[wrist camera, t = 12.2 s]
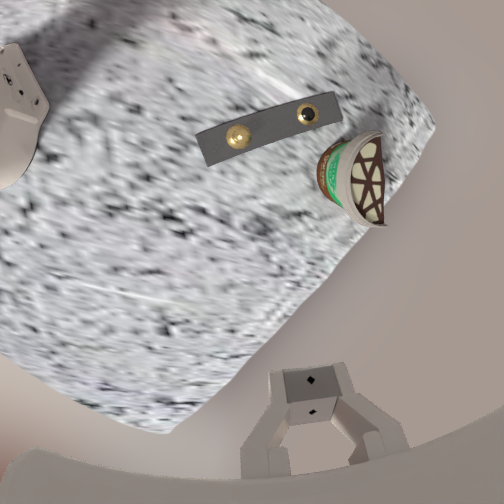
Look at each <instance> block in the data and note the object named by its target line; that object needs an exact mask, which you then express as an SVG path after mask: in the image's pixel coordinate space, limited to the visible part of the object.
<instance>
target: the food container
mask: <svg viewBox="0 0 504 504" xmlns="http://www.w3.org/2000/svg"><path fill="white" fill-rule="evenodd" d="M383 135H385V134H382V132H379V131H376V130H372V131H367V132H364V133H362V134H360V135H358V136H356V137H355V138H354V139H353V140H349V141H344V142H340V143H336V144H334V145H332V146H331V147H329V148H328V149H327V150H326V151H325V152H324V153H323V154H322V156H321V158H320V160H319V162H318V166H317V181H318V185H319V187H320V189H321V191H322V193H323V194H324V195H325V196H326V197H327V198H328V199H329V200H331V201H332V202H334V203H336V204H338V205H339V206H341V207H343V208H344V209H345V211H346V212H347V214H348V215H349V216H350V217H351V218H352V219H353V220H355V221H356V222H357V223H359V224H361V225H364V226H367V227H377V228H385V227H388V225H386V224H384V212H383V211H384V190H385V178H384V170H383V163H382V153H381V139H380V136H383Z"/></svg>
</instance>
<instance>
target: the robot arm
mask: <svg viewBox="0 0 504 504" xmlns="http://www.w3.org/2000/svg"><path fill="white" fill-rule="evenodd" d="M3 51H4V52H3ZM2 53H3V54H2ZM38 100H39V103H38V104H37V105H36V102H37V101H38ZM48 110H49V102H48V100H47V99H46V97H45V95H44V93H43V91H42V89H41V88H40V86H39V84H38V82H37V80H36V78H35V76H34V74H33V72H32V70H31V68H30V66H29V64H28V62H27V60H26V58H25V56H24V54H23V52H22V50H21V48H20V46H19V45H18V44H16V43H12V44H8V45H5V46H3V47H1V48H0V189H2V188H5V187H8V186H10V185H12V184H13V183H14V182H16V181H17V180H18V179H19V178H20V177H21V176H22V174H23V173H24V172H25V170H26V169H27V167H28V165H29V163H30V161H31V159H32V157H33V154H34V151H35V148H36V144H37V138H38V133H39V129H40V126H41V124H42V122H43V121H44V119H45V117H46V115H47V113H48ZM269 401H270V405H269V406H268V407H267V409H266V410H265V412H264V414H263V415H262V417H261V418H260V420H259V421H258V423H257V424H256V426H255V427H254V429H253V431H252V432H251V433H250V435H249V436H248V438H247V439H246V441H245V442H244V444H243V446H242V447H241V449H240V454H241V479H194V478H180V477H168V476H159V475H152V474H145V473H138V472H132V471H126V470H121V469H116V468H111V467H106V466H102V465H97V464H94V463H90V462H86V461H82V460H78V459H75V458H72V457H68V456H65V455H62V454H58V453H55V452H53V451H50V450H47V449H44V448H41V447H33V448H31V449H29V450H27V451H26V452H24V453H22V454H21V455H19V456H18V457H17V458H15V459H14V460H12V461H11V463H10V464H9V465H8V467H7V469H6V471H5V473H4V475H3V478H2V481H1V484H0V504H504V405H503V406H502V407H500V408H498V409H496V410H495V411H493V412H491V413H489V414H487V415H486V416H484V417H482V418H480V419H478V420H476V421H474V422H472V423H470V424H468V425H466V426H464V427H462V428H460V429H458V430H455V431H453V432H451V433H449V434H446V435H444V436H442V437H439V438H437V439H434V440H432V441H429V442H427V443H424V444H422V445H419V446H416V447H413V448H409V445H408V442H407V439H406V437H405V434H404V432H403V429H402V426H401V424H400V422H398V421H397V420H395V419H394V418H392V417H391V416H390V415H388V414H387V413H386V412H384V411H383V410H382V409H380V408H379V407H378V406H376V405H374V404H373V403H372V402H371V401H369V400H368V399H367V398H365V397H364V396H363V395H361V394H360V393H355V390H354V387H353V384H352V381H351V379H350V376H349V373H348V370H347V367H346V365H345V363H344V362H340V363H333V364H325V365H318V366H310V367H306V368H294V369H280V370H269ZM329 420H331V422H332V423H333V424H334V425H335V426H336V427H337V428H338V429H339V430H340V431H341V432H342V433H343V434H344V435H345V436H346V437H347V438H348V439H349V440H350V441H351V442H352V443H353V444H354V445H355V446H356V448H355V450H354V452H353V453H352V455H351V456H350V458H349V459H348V460H349V464H350V466H346V467H341V468H337V469H331V470H326V471H320V472H314V473H307V474H300V475H292V476H291V470H290V462H289V456H288V449H287V448H285V447H283V446H282V447H279V446H280V444H281V442H282V440H283V438H284V436H285V434H286V432H287V430H288V429H289V426H293V425H300V424H307V423H314V422H322V421H329Z"/></svg>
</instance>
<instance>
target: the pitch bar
mask: <svg viewBox="0 0 504 504" xmlns="http://www.w3.org/2000/svg"><path fill="white" fill-rule="evenodd" d="M339 121H343V120H342V117H341V114H340V111H339V108H338V105H337V102H336V99H335V96H334V94H333V92H330V93H326V94H322V95H318V96H314V97H310V98H306V99H302V100H298V101H295V102H291V103H288V104H284V105H281V106H277V107H274V108H271V109H267V110H264V111H261V112H258V113H255V114H252V115H249V116H246V117H243V118H240V119H237V120H234V121H231V122H229V123H226V124H223V125H220V126H218V127H215V128H212V129H210V130H207V131H205V132H202V133H200V134H197V135H195V137H196V139H197V142H198V144H199V147H200V149H201V152H202V154H203V157H204V159H205V162H206V164H207V167H209V166H212V165H214V164H217V163H219V162H222V161H224V160H227V159H229V158H232V157H234V156H237V155H240V154H242V153H245V152H248V151H250V150H253V149H256V148H258V147H261V146H264V145H267V144H270V143H273V142H275V141H278V140H281V139H284V138H287V137H290V136H293V135H296V134H299V133H303V132H306V131H309V130H312V129H315V128H319V127H322V126H325V125H329V124H332V123H336V122H339Z"/></svg>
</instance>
